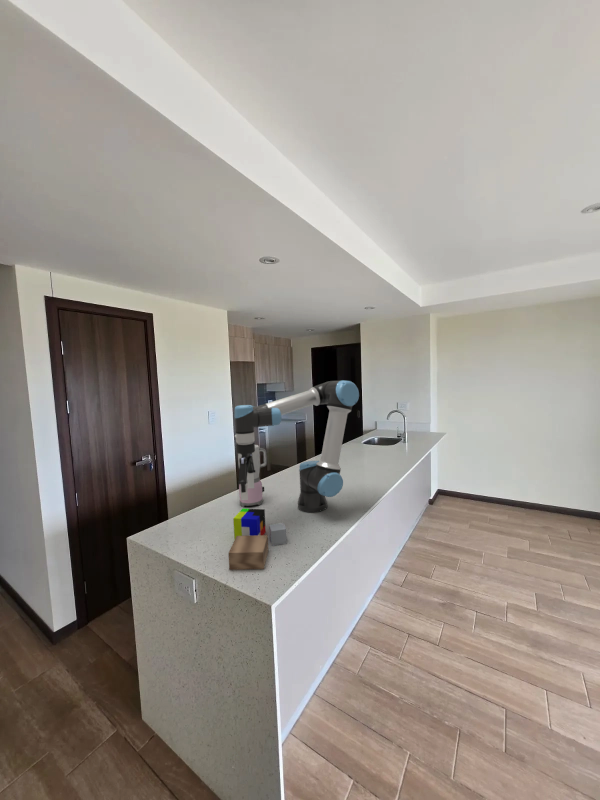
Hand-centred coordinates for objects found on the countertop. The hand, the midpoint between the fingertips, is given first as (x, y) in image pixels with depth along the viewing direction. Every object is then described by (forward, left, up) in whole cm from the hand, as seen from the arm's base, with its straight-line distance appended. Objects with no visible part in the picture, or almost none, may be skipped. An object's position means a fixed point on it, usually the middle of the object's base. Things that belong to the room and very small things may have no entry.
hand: (247, 493), depth 132 cm
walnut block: (-3, +17, -18) cm, 25 cm away
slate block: (-12, +4, -18) cm, 23 cm away
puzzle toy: (0, 0, -19) cm, 19 cm away
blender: (+5, -37, -19) cm, 42 cm away
